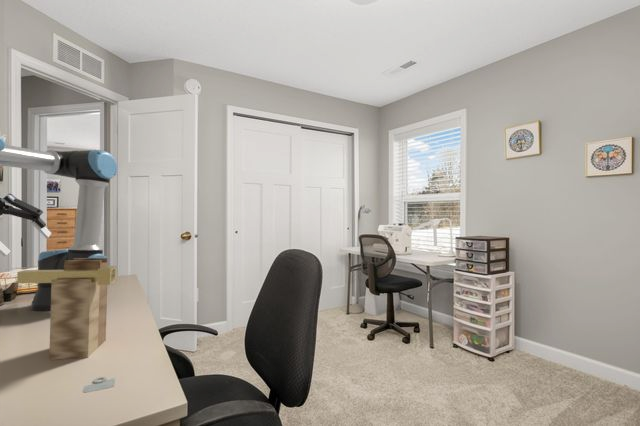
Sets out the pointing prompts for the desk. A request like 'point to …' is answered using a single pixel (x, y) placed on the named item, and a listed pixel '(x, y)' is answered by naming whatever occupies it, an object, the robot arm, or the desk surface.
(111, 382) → the mounting bracket
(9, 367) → the desk surface
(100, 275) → the golden wooden bar
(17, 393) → the desk surface
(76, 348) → the hinge block
